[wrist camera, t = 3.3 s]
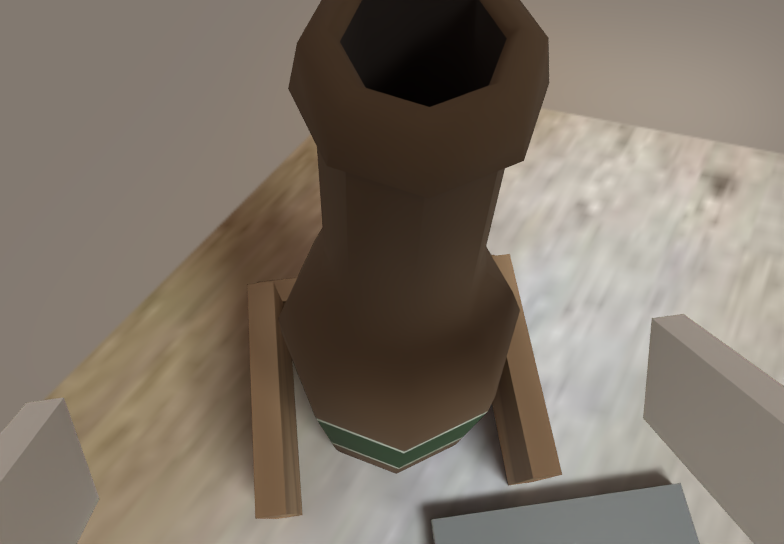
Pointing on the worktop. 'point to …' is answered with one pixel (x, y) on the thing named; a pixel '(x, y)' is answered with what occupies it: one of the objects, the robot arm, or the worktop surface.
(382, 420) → the beer bottle
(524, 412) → the cradle
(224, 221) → the worktop surface
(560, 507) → the coaster
